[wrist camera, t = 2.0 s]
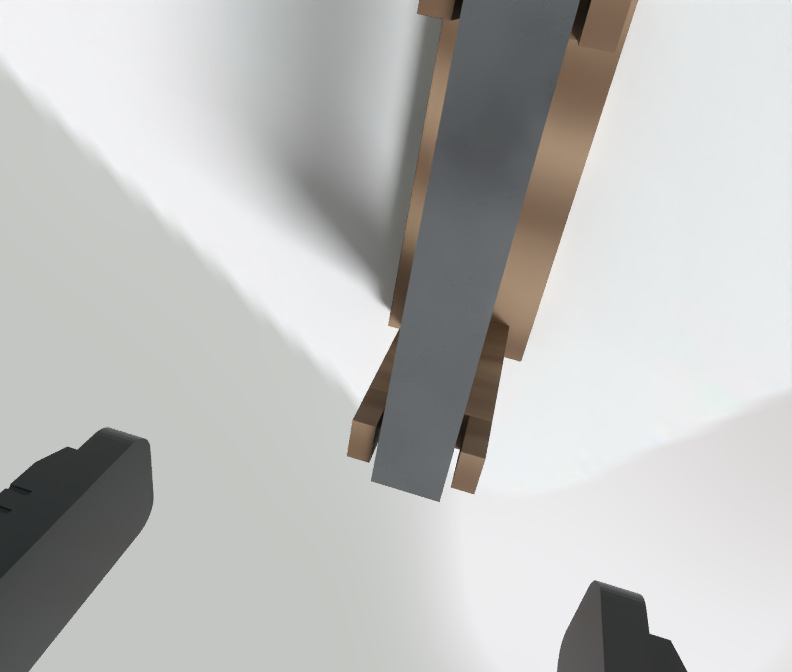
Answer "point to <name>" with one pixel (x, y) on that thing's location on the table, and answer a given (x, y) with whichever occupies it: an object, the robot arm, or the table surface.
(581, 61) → the walnut stand
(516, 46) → the steel bar
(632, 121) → the table surface
